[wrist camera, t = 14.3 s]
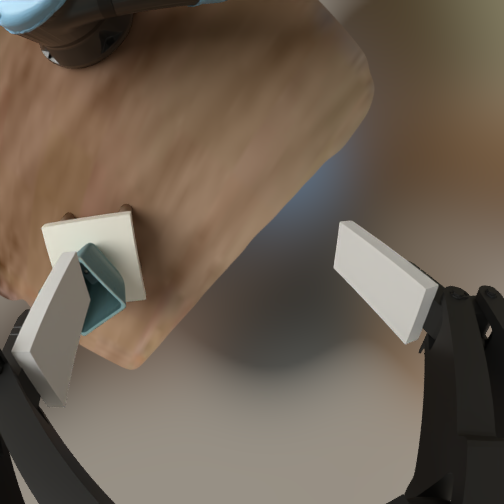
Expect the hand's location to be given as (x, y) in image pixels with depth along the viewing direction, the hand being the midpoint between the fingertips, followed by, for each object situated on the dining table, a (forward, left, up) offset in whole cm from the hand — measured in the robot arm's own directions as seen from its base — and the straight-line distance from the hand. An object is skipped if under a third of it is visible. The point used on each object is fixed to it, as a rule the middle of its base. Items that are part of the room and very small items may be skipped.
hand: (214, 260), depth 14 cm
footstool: (+13, -15, -35) cm, 40 cm away
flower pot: (+13, -15, -27) cm, 33 cm away
